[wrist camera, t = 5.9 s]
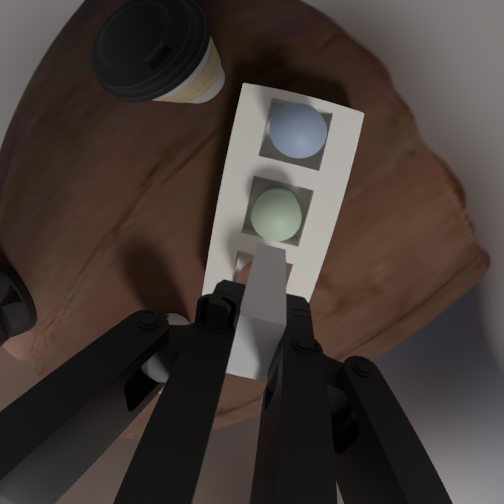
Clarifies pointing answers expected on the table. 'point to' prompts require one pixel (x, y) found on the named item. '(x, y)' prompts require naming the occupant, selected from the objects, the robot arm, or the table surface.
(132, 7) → the coffee cup
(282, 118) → the slate cap
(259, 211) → the sage cap
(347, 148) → the button board
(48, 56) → the table surface
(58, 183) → the table surface
